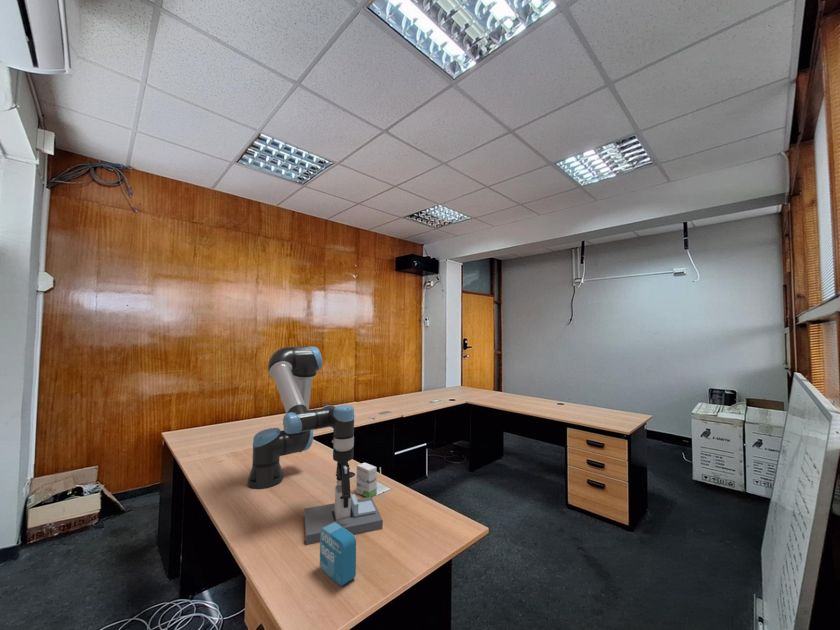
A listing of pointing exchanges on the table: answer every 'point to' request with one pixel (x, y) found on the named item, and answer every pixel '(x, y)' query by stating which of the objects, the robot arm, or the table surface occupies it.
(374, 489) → the ink box
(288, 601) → the table surface
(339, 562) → the data package
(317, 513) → the socket block
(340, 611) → the table surface
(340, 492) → the plug
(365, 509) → the light blue l-shaped block
